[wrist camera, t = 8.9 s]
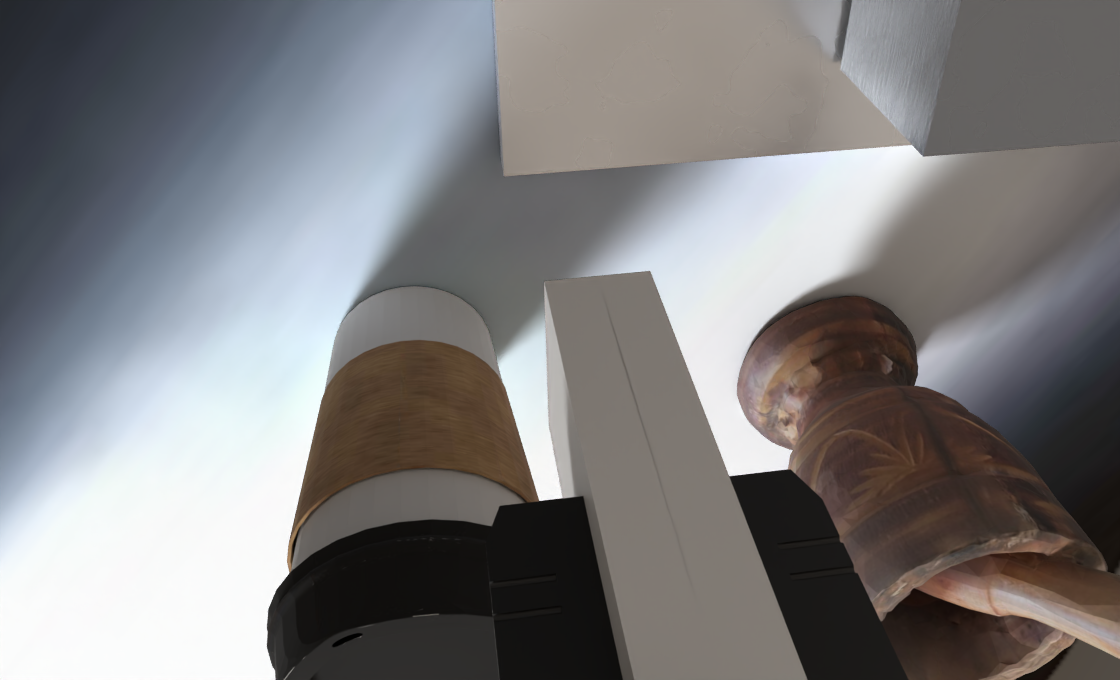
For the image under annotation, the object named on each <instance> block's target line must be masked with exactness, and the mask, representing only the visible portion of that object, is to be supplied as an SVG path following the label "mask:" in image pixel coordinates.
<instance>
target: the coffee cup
mask: <svg viewBox="0 0 1120 680" xmlns="http://www.w3.org/2000/svg"><path fill="white" fill-rule="evenodd" d="M536 501H539V499H538V496H537V492H536V489H535V486H534V482H533V479H532V476H531V472H530V469H529V466H528V462H527V459H526V456H525V452H524V449H523V446H522V442H521V439H520V436H519V432H518V429H517V426H516V422H515V419H514V416H513V412H512V409H511V406H510V402H509V399H508V396H507V392H506V389H505V386H504V385H503V383H502V379H501V375H500V371H499V367H498V363H497V359H496V355H495V352H494V348H493V344H492V340H491V337H490V333H489V330H488V328H487V326H486V324H485V322H484V320H483V318H482V317H481V316H480V315H479V314H478V312H477V311H476V310H475V309H474V308H473V307H472V306H470V305H469V304H468V303H466V302H465V301H464V300H462V299H461V298H459V297H457V296H455V295H453V294H451V293H449V292H446V291H442V290H439V289H435V288H430V287H421V286H410V287H399V288H394V289H389V290H385V291H383V292H380V293H378V294H375V295H373V296H370V297H369V298H367V299H366V300H364V301H363V302H361V303H359V304H358V305H357V306H356V307H355V308H354V309H353V310H352V311H351V312H350V313H348V315H347V316H346V317H345V319H344V320H343V322H342V323H341V325H340V327H339V329H338V332H337V334H336V337H335V340H334V345H333V350H332V355H331V361H330V366H329V371H328V377H327V382H326V387H325V393H324V395H323V398H322V401H321V405H320V410H319V414H318V418H317V423H316V427H315V431H314V436H313V440H312V445H311V449H310V453H309V458H308V462H307V466H306V471H305V475H304V479H303V484H302V488H301V492H300V497H299V501H298V506H297V510H296V514H295V519H294V523H293V527H292V532H291V536H290V540H289V546H288V557H287V563H288V568H289V572H290V573H289V575H288V576H287V577H286V579H285V580H284V581H283V582H282V584H281V585H280V586H279V587H278V589H277V590H276V593H275V595H274V597H273V600H272V602H271V604H270V607H269V609H268V622H267V630H268V638H267V649H268V653H269V656H270V660H271V663H272V666H273V668H274V669H275V677H276V680H499V672H498V662H497V652H496V643H495V633H494V623H493V613H492V603H491V593H490V583H489V573H488V563H487V553H486V543H485V542H486V540H487V537H488V534H489V532H490V529H491V527H492V524H493V522H494V519H495V516H496V514H497V511H498V509H499V506H502V505H511V504H519V503H528V502H536Z"/></svg>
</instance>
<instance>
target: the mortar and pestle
mask: <svg viewBox="0 0 1120 680" xmlns="http://www.w3.org/2000/svg"><path fill="white" fill-rule="evenodd" d="M917 376H918V364H917V355H916V346H915V342H914V339H913V337H912V334H911V333H910V331H909V330H908V328H907V327H906V325H905V324H904V323H903V322H902V321H901V320H900V319H899V318H898V317H897V316H896V315H895V314H894V313H893V312H892V311H891V310H889V309H888V308H886V307H885V306H883V305H881V304H879V303H877V302H875V301H872V300H870V299H867V298H864V297H857V296H846V297H841V298H833V299H827V300H823V301H818V302H816V303H813V304H811V305H808V306H806V307H803V308H800V309H798V310H795V311H793V312H791V313H789V314H788V315H786V316H784V317H783V318H781V319H780V320H778V321H777V322H775V323H774V324H773V325H771V326H770V327H769V328H767V329H766V330H765V331H764V332H763V333H762V335H761V336H760V337H759V338H758V339H757V340H756V341H755V342H754V344H753V345H752V347H751V348H750V350H749V352H748V353H747V355H746V357H745V360H744V362H743V364H742V367H741V369H740V373H739V378H738V384H737V396H738V399H739V402H740V405H741V407H742V410H743V412H744V414H745V416H746V418H747V419H748V421H749V422H750V423H751V424H752V425H753V426H754V427H755V428H756V429H757V430H758V431H759V432H760V433H761V434H762V435H763V436H764V437H766V438H767V439H768V440H770V441H771V442H773V443H775V444H777V445H779V446H782V447H785V448H787V449H791V450H793V451H792V453H791V455H790V460H789V466H788V469H791V470H792V471H793V472H794V473H795V474H796V475H797V476H798V477H799V478H800V479H802V480H803V481H804V482H805V483H806V484H807V485H808V486H809V487H810V488H811V489H812V490H813V491H814V492H815V493H816V494H817V495H819V496H820V497H821V498H822V499H823V502H824V504H825V506H826V508H827V510H828V512H829V514H830V516H831V518H832V520H833V522H834V525H835V527H836V529H837V531H838V533H839V535H840V542H841V543H844V546H845V548H846V550H847V552H848V554H849V556H850V558H851V560H852V562H853V564H854V571H855V573H858V575H859V577H860V579H861V581H862V583H863V585H864V587H865V590H866V592H867V594H868V596H869V598H870V600H871V602H872V604H873V606H874V608H875V610H876V613H877V615H878V617H879V619H880V621H881V623H882V625H883V627H884V629H885V631H886V634H887V636H888V638H889V640H890V642H891V644H892V646H893V648H894V650H895V652H896V654H897V657H898V659H899V661H900V663H901V665H902V667H903V669H904V671H905V673H906V675H907V678H908V680H1014V679H1016V678H1018V677H1020V676H1022V675H1024V674H1027V673H1030V672H1033V671H1035V670H1036V669H1038V668H1039V667H1041V666H1042V665H1044V664H1045V663H1047V662H1049V661H1050V660H1052V659H1053V658H1054V657H1055V656H1056V655H1057V654H1058V653H1059V652H1061V651H1062V650H1063V649H1065V648H1067V647H1069V646H1070V645H1071V644H1072V643H1073V642H1074V640H1075V638H1078V639H1080V640H1082V641H1084V642H1086V643H1089V644H1090V645H1093V646H1095V647H1097V648H1099V649H1101V650H1103V651H1105V652H1107V653H1109V654H1111V655H1113V656H1115V657H1117V658H1119V659H1120V575H1116V574H1112V573H1109V572H1107V569H1108V567H1107V564H1106V562H1105V560H1104V558H1103V555H1102V554H1101V553H1100V551H1099V550H1098V549H1097V548H1096V546H1095V545H1094V544H1093V543H1092V541H1091V540H1090V539H1089V538H1088V536H1087V535H1086V534H1085V533H1084V531H1083V530H1082V529H1081V528H1080V526H1079V525H1078V524H1077V523H1076V521H1075V520H1074V519H1073V518H1072V517H1071V516H1070V514H1069V513H1068V512H1067V511H1066V510H1065V509H1064V507H1063V506H1062V505H1061V504H1060V503H1059V502H1058V500H1057V499H1056V498H1055V496H1054V495H1053V494H1052V492H1051V491H1050V490H1049V488H1048V487H1047V485H1046V484H1045V483H1044V481H1043V480H1042V479H1041V477H1040V476H1039V475H1038V473H1037V472H1036V470H1035V469H1034V468H1033V467H1032V465H1031V464H1030V463H1029V462H1028V461H1027V460H1026V459H1025V457H1024V456H1023V455H1022V454H1021V453H1020V452H1019V451H1018V450H1017V449H1016V448H1015V447H1014V446H1013V445H1011V444H1010V443H1009V442H1008V441H1007V440H1006V439H1005V438H1004V437H1003V436H1002V435H1001V434H1000V433H999V432H998V431H997V430H996V429H994V428H993V427H991V426H990V425H989V424H987V423H986V422H984V421H983V420H982V419H980V418H979V417H977V416H976V415H974V414H972V413H970V412H969V411H968V410H967V409H966V408H965V407H963V406H962V405H961V404H960V403H958V402H957V401H956V400H954V399H952V398H949V397H947V396H945V395H943V394H941V393H939V392H936V391H933V390H931V389H928V388H925V387H919V386H914V385H915V382H916V378H917Z"/></svg>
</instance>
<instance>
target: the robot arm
mask: <svg viewBox="0 0 1120 680" xmlns="http://www.w3.org/2000/svg"><path fill="white" fill-rule="evenodd" d="M544 297H545V327H546V357H547V387H548V417H549V429H550V434H551V439H552V444H553V450H554V455H555V460H556V465H557V470H558V476H559V481H560V486H561V491H562V496H563V498H562V499H553V500H545V501H536V502H528V503H519V504H511V505H502V506H499V509H498V511H497V514H496V516H495V519H494V522H493V524H492V527H491V529H490V532H489V534H488V537H487V540H486V542H485V543H486V553H487V563H488V573H489V583H490V593H491V603H492V613H493V623H494V633H495V643H496V652H497V662H498V672H499V680H908V678H907V675H906V673H905V671H904V669H903V667H902V665H901V663H900V661H899V659H898V657H897V654H896V652H895V650H894V648H893V646H892V644H891V642H890V640H889V638H888V636H887V634H886V631H885V629H884V627H883V625H882V623H881V621H880V619H879V617H878V615H877V613H876V610H875V608H874V606H873V604H872V602H871V600H870V598H869V596H868V594H867V592H866V590H865V587H864V585H863V583H862V581H861V579H860V577H859V575H858V573H855V571H854V564H853V562H852V560H851V558H850V556H849V554H848V552H847V550H846V548H845V546H844V543H841V542H840V535H839V533H838V531H837V529H836V527H835V525H834V522H833V520H832V518H831V516H830V514H829V512H828V510H827V508H826V506H825V504H824V502H823V499H822V498H821V497H820V496H819V495H817V494H816V493H815V492H814V491H813V490H812V489H811V488H810V487H809V486H808V485H807V484H806V483H805V482H804V481H803V480H802V479H800V478H799V477H798V476H797V475H796V474H795V473H794V472H793V471H792V470H791V469H788V470H780V471H771V472H763V473H754V474H746V475H737V476H729V475H728V472H727V470H726V467H725V464H724V462H723V459H722V457H721V454H720V451H719V449H718V446H717V444H716V441H715V438H714V436H713V433H712V431H711V428H710V425H709V423H708V420H707V418H706V415H705V412H704V410H703V407H702V405H701V402H700V399H699V397H698V394H697V392H696V389H695V386H694V384H693V381H692V379H691V376H690V373H689V371H688V368H687V366H686V363H685V360H684V358H683V355H682V353H681V350H680V347H679V345H678V342H677V340H676V337H675V334H674V332H673V329H672V327H671V324H670V321H669V319H668V316H667V314H666V311H665V308H664V306H663V303H662V301H661V298H660V295H659V293H658V290H657V288H656V285H655V282H654V280H653V277H652V275H651V272H650V271H645V272H634V273H624V274H613V275H602V276H592V277H581V278H571V279H560V280H550V281H544Z"/></svg>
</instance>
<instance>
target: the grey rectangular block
mask: <svg viewBox="0 0 1120 680" xmlns="http://www.w3.org/2000/svg"><path fill="white" fill-rule="evenodd" d="M840 70H841V71H842V72H843V73H844V74H845V75H846V76H847V77H848V78H849V79H850V80H851V81H852V82H853V83H854V84H855V85H856V86H857V87H858V88H859V90H860V91H861V92H862V93H863V94H864V95H865V96H866V97H867V98H868V99H869V100H870V101H871V102H872V103H873V104H874V105H875V106H876V107H877V108H878V110H879V111H880V112H881V113H882V114H883V115H884V116H885V117H886V118H887V119H888V120H889V121H890V122H891V123H892V124H893V125H894V126H895V127H896V128H897V129H898V131H899V132H900V133H901V134H902V135H903V136H904V137H905V138H906V139H907V140H908V141H909V142H910V143H911V144H912V145H913V146H914V147H915V148H916V149H917V151H918V152H919V153H920V154H921V155H922V156H923V157H924V156H937V155H949V154H962V153H975V152H987V151H1000V150H1013V149H1025V148H1038V147H1050V146H1063V145H1076V144H1088V143H1101V142H1113V141H1120V0H852V4H851V10H850V16H849V21H848V27H847V33H846V39H845V44H844V50H843V56H842V62H841V67H840Z"/></svg>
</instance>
